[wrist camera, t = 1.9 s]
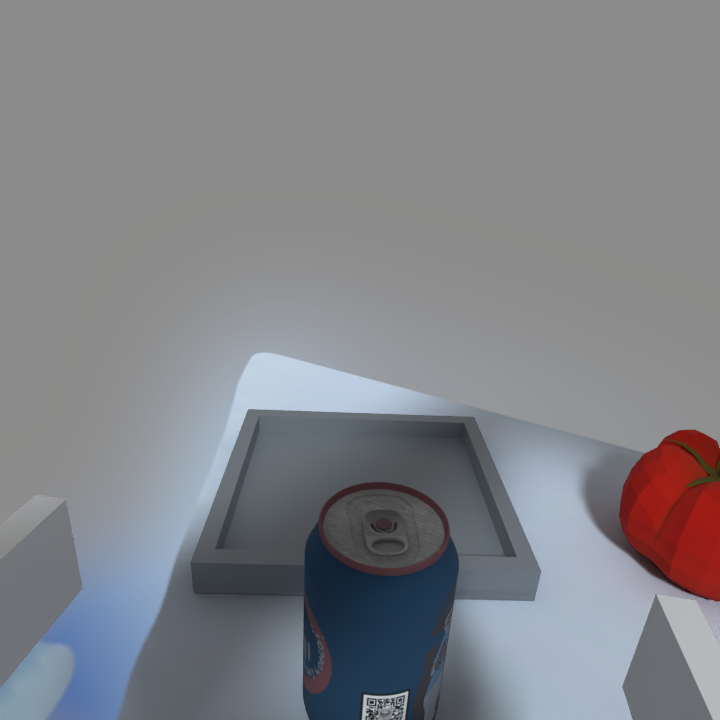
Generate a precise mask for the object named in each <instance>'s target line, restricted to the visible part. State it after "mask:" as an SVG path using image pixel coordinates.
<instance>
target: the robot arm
mask: <svg viewBox="0 0 720 720" xmlns="http://www.w3.org/2000/svg"><path fill="white" fill-rule="evenodd" d="M81 590H82V582H81V577H80V572H79V566H78V561H77V556H76V550H75V545H74V540H73V535H72V529H71V524H70V519H69V513H68V508H67V503H66V499H59V498H54V497H47V496H40V495H35V496H34V497H33V498H32V499H30V500H29V501H28V502H27V503H26V504H25V505H24V506H22V507H21V508H20V509H19V510H17V511H16V512H15V513H14V514H13V515H12V516H10V517H9V518H8V519H7V520H6V521H4V522H3V523H2V524H1V525H0V687H1V686H2V685H3V684H4V682H5V681H6V680H7V679H8V678H9V676H10V675H11V674H12V673H13V672H14V670H15V669H16V668H17V667H18V666H19V664H20V663H21V662H22V661H23V660H24V658H25V657H26V656H27V655H28V654H29V652H30V651H31V650H32V649H33V647H34V646H35V645H36V644H37V643H38V641H39V640H40V639H41V638H42V637H43V635H44V634H45V633H46V632H47V630H48V629H49V628H50V627H51V626H52V624H53V623H54V622H55V621H56V620H57V619H58V617H59V616H60V615H61V614H62V613H63V611H64V610H65V609H66V608H67V606H68V605H69V604H70V603H71V602H72V600H73V599H74V598H75V597H76V596H77V594H78V593H79V592H80V591H81ZM622 687H623V690H624V693H625V696H626V699H627V703H628V706H629V709H630V712H631V715H632V719H633V720H720V644H719V643H718V641H717V639H716V637H715V635H714V633H713V631H712V629H711V628H710V626H709V624H708V622H707V620H706V618H705V616H704V614H703V613H702V611H701V609H700V607H699V605H698V603H697V601H696V600H690V599H683V598H677V597H671V596H665V595H658V594H656V596H655V599H654V601H653V604H652V607H651V610H650V612H649V615H648V618H647V621H646V623H645V626H644V629H643V632H642V634H641V637H640V640H639V643H638V645H637V648H636V651H635V654H634V656H633V659H632V662H631V664H630V667H629V670H628V673H627V675H626V678H625V681H624V684H623V686H622Z"/></svg>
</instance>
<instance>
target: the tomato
mask: <svg viewBox="0 0 720 720" xmlns="http://www.w3.org/2000/svg"><path fill="white" fill-rule="evenodd" d="M619 517H620V521H621V526H622V530H623V532H624V533H625V535H626V537H627V539H628V541H629V543H630V544H631V545H632V546H633V547H634V548H635V549H636V551H638V552H639V553H641V554H642V555H644V556H645V557H646V558H648V559H649V560H651V561H652V562H654V563H655V564H656V565H657V567H658V568H659V569H660V570H661V571H662V572H663V573H664V574H665V575H666V576H667V577H668V578H669V579H670V580H671V581H673V582H675V583H676V584H678V585H680V586H682V587H683V588H685V589H687V590H688V591H690V592H692V593H694V594H697V595H700V596H702V597H705V598H708V599H711V600H714V601H720V448H719V446H718V443H717V441H716V440H714V439H712V438H710V437H709V436H707V435H705V434H703V433H701V432H699V431H696V430H679V431H677V432H675V433H673V434H671V435H669V436H667V437H665V438H664V439H663V441H662V442H661V443H660V444H659V446H658V447H657V448H655V449H654V450H651V451H649V452H647V453H645V454H644V455H643V456H642V457H641V459H640V460H639V461H638V462H637V463H636V464H635V466H634V467H633V468H632V470H631V472H630V474H629V476H628V478H627V480H626V482H625V484H624V486H623V492H622V497H621V505H620V513H619Z"/></svg>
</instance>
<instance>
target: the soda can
mask: <svg viewBox="0 0 720 720" xmlns="http://www.w3.org/2000/svg"><path fill="white" fill-rule="evenodd" d="M458 571H459V558H458V553H457V550H456V547H455V545H454V542H453V540H452V538H451V536H450V526H449V522H448V519H447V517H446V515H445V513H444V511H443V510H442V509H441V507H440V506H439V505H438V504H437V503H436V502H435V501H434V500H432V499H431V498H430V497H428V496H427V495H425V494H423V493H422V492H420V491H418V490H415V489H413V488H410V487H407V486H404V485H400V484H395V483H389V482H367V483H361V484H356V485H353V486H350V487H347V488H345V489H343V490H341V491H339V492H337V493H336V494H334V495H333V496H332V497H331V498H329V499H328V500H327V502H326V503H325V504H324V506H323V507H322V509H321V512H320V515H319V521H318V522H317V523H316V525H315V526H314V528H313V529H312V531H311V533H310V535H309V536H308V539H307V542H306V546H305V559H304V639H303V699H304V704H305V708H306V712H307V714H308V717H309V719H310V720H434V719H435V716H436V712H437V708H438V701H439V695H440V688H441V682H442V675H443V669H444V662H445V656H446V649H447V643H448V636H449V630H450V623H451V617H452V611H453V604H454V598H455V591H456V585H457V578H458Z"/></svg>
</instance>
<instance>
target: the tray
mask: <svg viewBox="0 0 720 720" xmlns="http://www.w3.org/2000/svg"><path fill="white" fill-rule="evenodd" d="M367 482H389V483H395V484H400V485H404V486H407V487H410V488H413V489H415V490H418V491H420V492H422V493H423V494H425V495H427V496H428V497H430V498H431V499H432V500H434V501H435V502H436V503H437V504H438V505H439V506H440V507H441V509H442V510H443V511H444V513H445V515H446V517H447V519H448V522H449V526H450V536H451V538H452V540H453V542H454V545H455V547H456V550H457V553H458V558H459V571H458V578H457V585H456V591H455V598H454V599H479V600H522V601H534V599H535V595H536V591H537V587H538V582H539V578H540V574H541V570H540V568H539V565H538V563H537V561H536V559H535V556H534V554H533V552H532V549H531V547H530V545H529V543H528V540H527V538H526V536H525V533H524V531H523V529H522V526H521V524H520V522H519V520H518V517H517V515H516V513H515V510H514V508H513V506H512V503H511V501H510V499H509V497H508V494H507V492H506V490H505V487H504V485H503V483H502V480H501V478H500V476H499V474H498V471H497V469H496V467H495V464H494V462H493V460H492V457H491V455H490V453H489V451H488V448H487V446H486V444H485V441H484V439H483V437H482V434H481V432H480V430H479V428H478V425H477V423H476V421H475V418H474V417H454V416H425V415H397V414H368V413H340V412H311V411H283V410H254V409H248V411H247V414H246V417H245V419H244V422H243V425H242V427H241V430H240V433H239V435H238V438H237V441H236V443H235V446H234V449H233V451H232V454H231V457H230V459H229V462H228V465H227V467H226V470H225V473H224V475H223V478H222V481H221V483H220V486H219V489H218V491H217V494H216V497H215V499H214V502H213V505H212V507H211V510H210V513H209V515H208V518H207V521H206V523H205V526H204V529H203V532H202V534H201V537H200V540H199V542H198V545H197V548H196V550H195V553H194V556H193V558H192V561H191V569H192V579H193V589H194V593H225V594H267V595H304V559H305V546H306V542H307V539H308V536H309V535H310V533H311V531H312V529H313V528H314V526H315V525H316V523H317V522H318V521H319V515H320V512H321V509H322V507H323V506H324V504H325V503H326V502H327V500H328V499H329V498H331V497H332V496H333V495H334V494H336V493H337V492H339V491H341V490H343V489H345V488H347V487H350V486H353V485H356V484H361V483H367Z"/></svg>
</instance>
